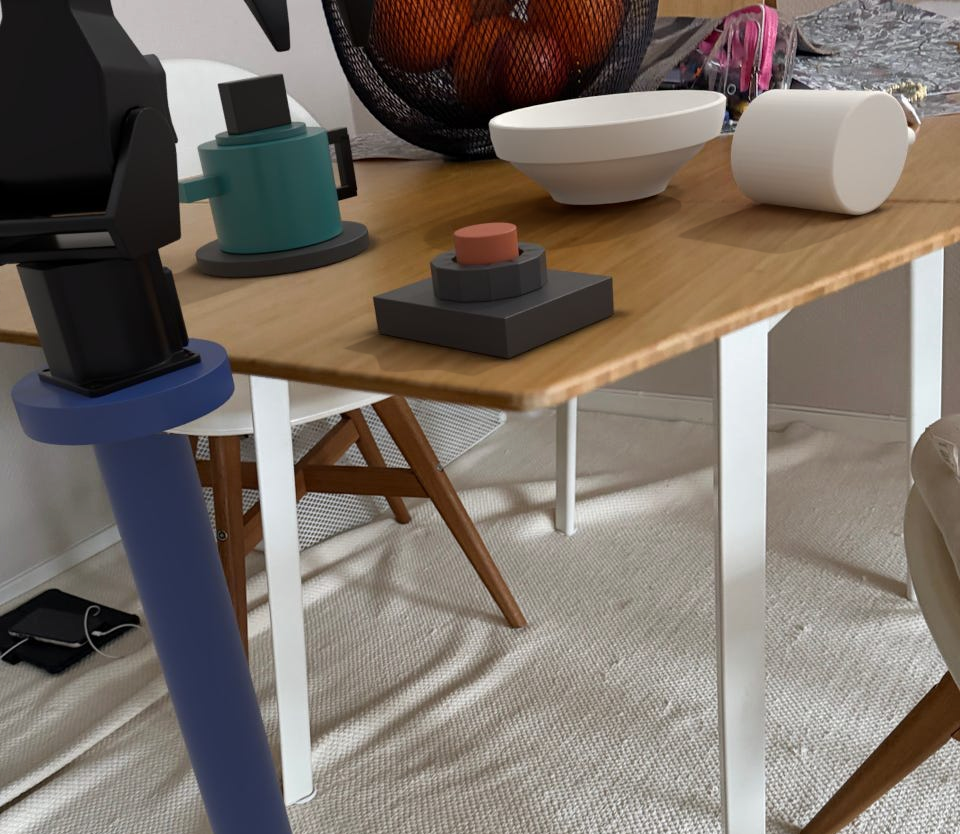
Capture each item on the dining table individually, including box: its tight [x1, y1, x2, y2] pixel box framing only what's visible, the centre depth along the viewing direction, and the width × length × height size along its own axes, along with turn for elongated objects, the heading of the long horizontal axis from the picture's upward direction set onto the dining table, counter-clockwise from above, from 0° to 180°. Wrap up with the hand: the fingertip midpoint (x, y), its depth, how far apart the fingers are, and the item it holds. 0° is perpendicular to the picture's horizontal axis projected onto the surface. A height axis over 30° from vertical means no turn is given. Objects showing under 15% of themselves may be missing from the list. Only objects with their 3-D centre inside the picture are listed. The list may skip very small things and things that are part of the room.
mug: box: [730, 88, 916, 216], centre depth 81 cm, size 12×10×8 cm
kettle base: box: [195, 220, 371, 278], centre depth 89 cm, size 14×14×1 cm
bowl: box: [488, 89, 727, 206], centre depth 92 cm, size 20×20×7 cm
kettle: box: [178, 73, 358, 254], centre depth 85 cm, size 16×10×12 cm, turn 135°
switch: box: [453, 222, 519, 265], centre depth 63 cm, size 4×4×2 cm
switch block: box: [372, 241, 615, 360], centre depth 64 cm, size 11×9×4 cm
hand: (320, 49), depth 76 cm, fingers open, 9 cm apart
